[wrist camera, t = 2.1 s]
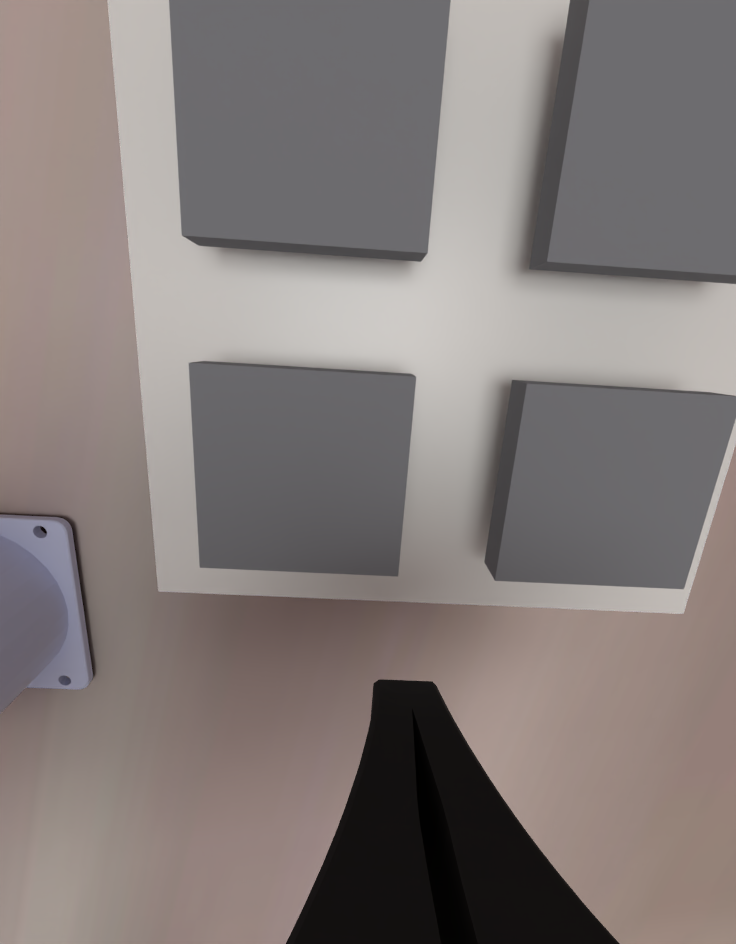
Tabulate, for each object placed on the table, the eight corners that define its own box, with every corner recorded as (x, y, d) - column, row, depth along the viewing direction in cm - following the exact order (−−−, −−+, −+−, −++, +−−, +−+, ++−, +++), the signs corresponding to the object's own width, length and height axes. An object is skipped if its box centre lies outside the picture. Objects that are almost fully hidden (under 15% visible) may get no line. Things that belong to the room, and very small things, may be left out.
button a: (228, 525, 16) (199, 567, 13) (224, 358, 14) (188, 362, 11) (391, 533, 16) (398, 576, 13) (404, 369, 15) (416, 376, 12)
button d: (506, 278, 14) (546, 261, 11) (539, 45, 12) (597, -50, 9) (689, 291, 14) (778, 278, 11) (747, 64, 12) (869, -23, 9)
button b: (470, 537, 16) (494, 580, 13) (493, 375, 15) (527, 383, 12) (625, 545, 17) (684, 589, 14) (666, 385, 15) (742, 396, 12)
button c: (220, 258, 14) (181, 235, 11) (213, 16, 12) (163, -93, 9) (413, 272, 14) (427, 252, 11) (432, 36, 12) (456, -64, 9)
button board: (179, 564, 18) (158, 591, 16) (136, -67, 12) (95, -142, 10) (650, 585, 19) (683, 613, 17) (813, -2, 13) (891, -61, 11)
